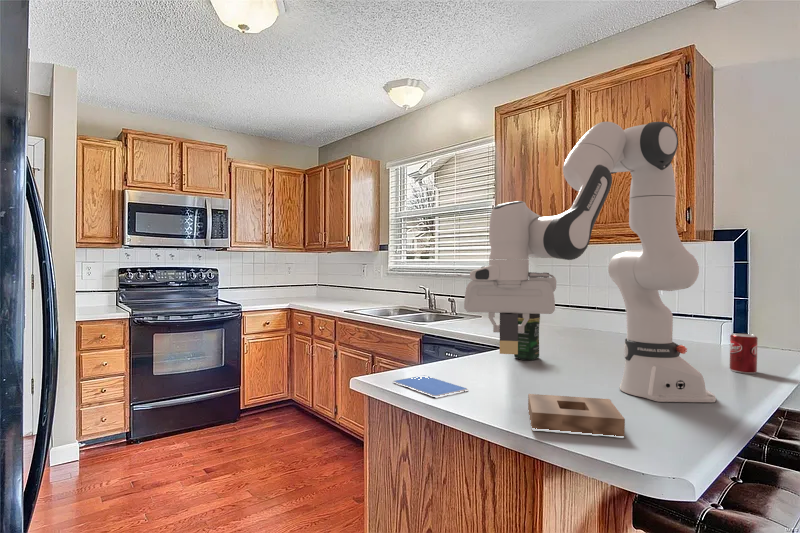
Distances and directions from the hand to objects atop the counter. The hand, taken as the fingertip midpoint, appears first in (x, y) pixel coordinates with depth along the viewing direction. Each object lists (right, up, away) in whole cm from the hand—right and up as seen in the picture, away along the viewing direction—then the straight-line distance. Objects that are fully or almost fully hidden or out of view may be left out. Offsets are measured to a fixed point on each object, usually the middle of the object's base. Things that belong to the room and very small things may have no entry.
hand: (508, 332), depth 109 cm
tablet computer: (-17, -19, +24) cm, 35 cm away
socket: (+13, -19, -5) cm, 24 cm away
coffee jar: (+21, -19, +64) cm, 70 cm away
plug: (0, -5, 0) cm, 4 cm away
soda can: (+87, -19, +46) cm, 100 cm away
